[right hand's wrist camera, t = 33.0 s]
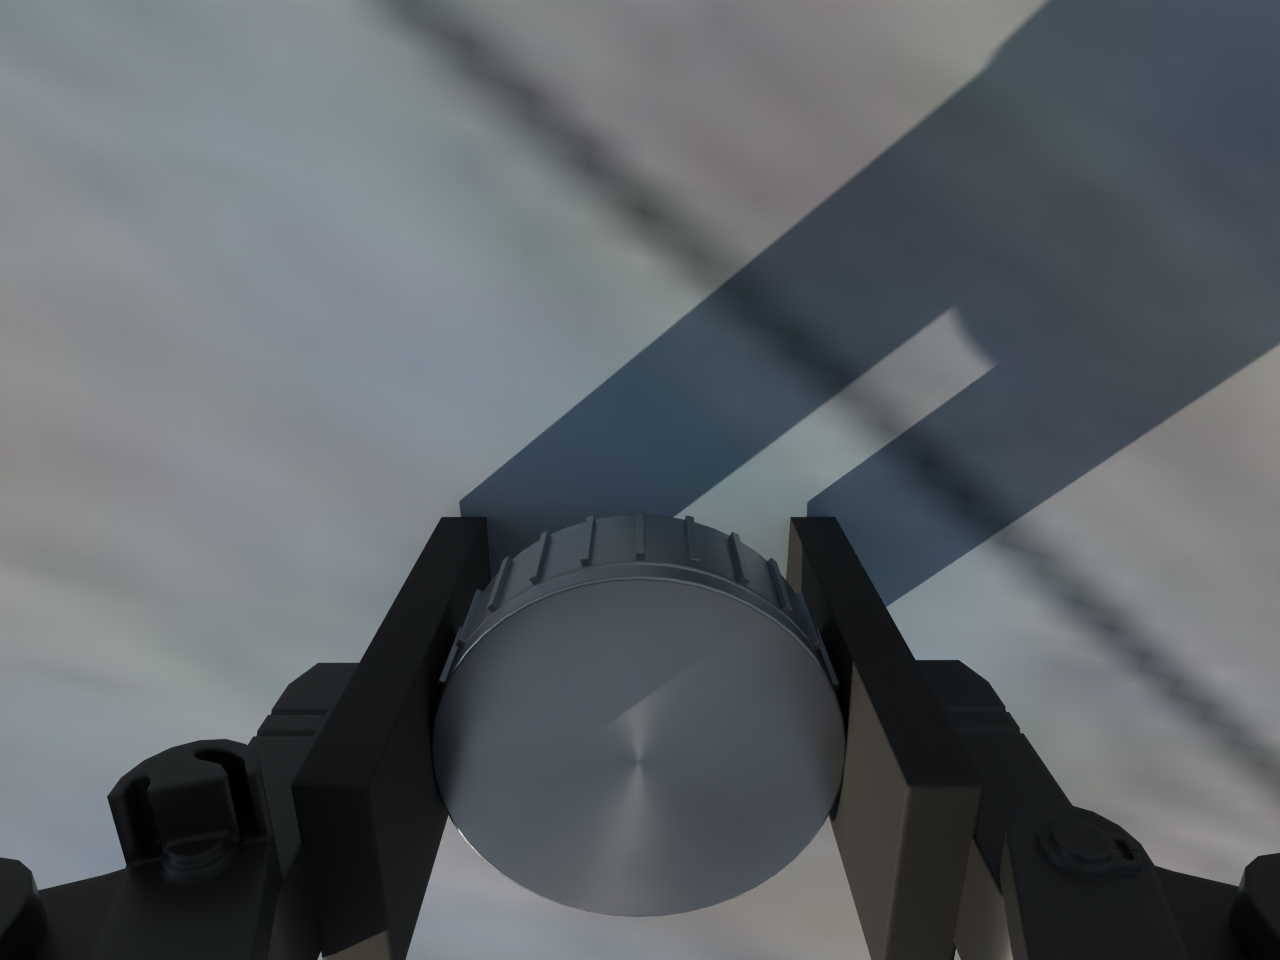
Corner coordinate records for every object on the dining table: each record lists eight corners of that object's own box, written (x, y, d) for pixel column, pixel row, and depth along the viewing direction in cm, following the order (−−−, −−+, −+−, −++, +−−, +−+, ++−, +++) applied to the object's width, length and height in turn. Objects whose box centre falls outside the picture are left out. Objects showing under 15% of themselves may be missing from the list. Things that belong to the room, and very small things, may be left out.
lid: (440, 505, 11) (404, 568, 10) (839, 507, 11) (875, 572, 10) (467, 818, 13) (440, 921, 11) (807, 820, 13) (833, 923, 11)
